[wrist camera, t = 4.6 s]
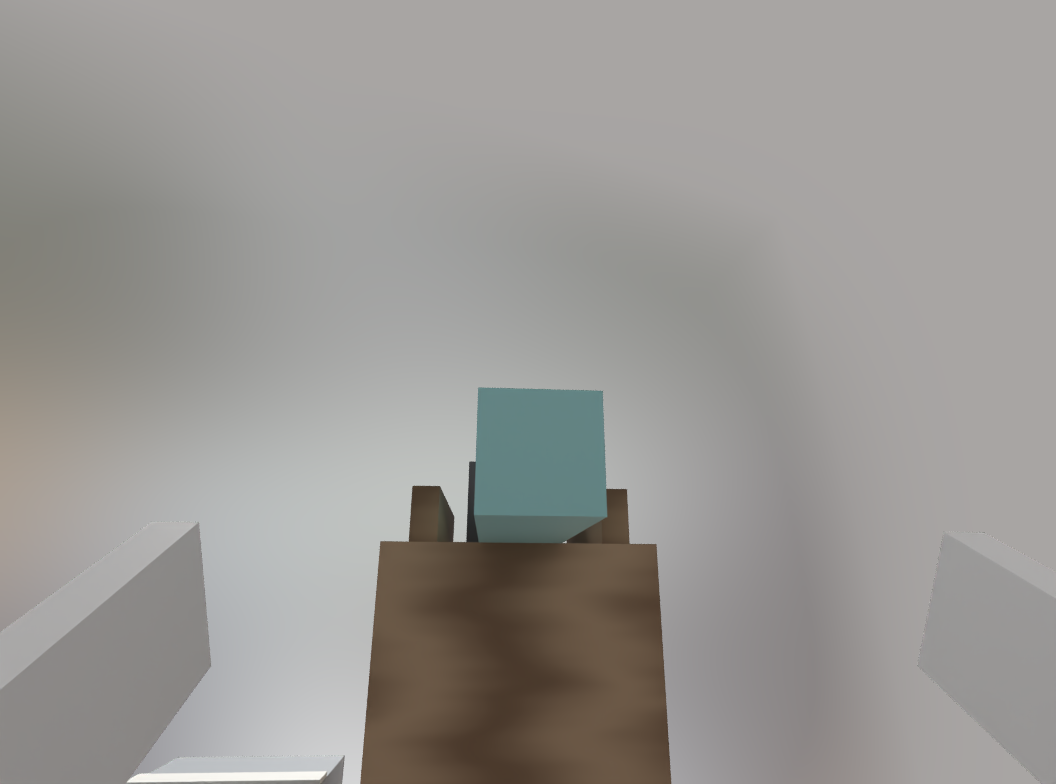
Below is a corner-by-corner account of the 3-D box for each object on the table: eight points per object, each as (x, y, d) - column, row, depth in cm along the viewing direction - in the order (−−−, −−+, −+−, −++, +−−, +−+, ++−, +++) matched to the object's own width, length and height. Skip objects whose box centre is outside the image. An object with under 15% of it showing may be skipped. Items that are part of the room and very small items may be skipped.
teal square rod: (442, 514, 13) (451, 333, 14) (468, 557, 32) (471, 477, 33) (637, 517, 13) (628, 338, 15) (548, 558, 32) (548, 478, 34)
